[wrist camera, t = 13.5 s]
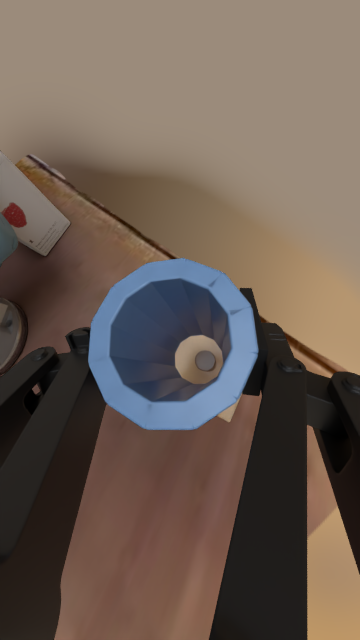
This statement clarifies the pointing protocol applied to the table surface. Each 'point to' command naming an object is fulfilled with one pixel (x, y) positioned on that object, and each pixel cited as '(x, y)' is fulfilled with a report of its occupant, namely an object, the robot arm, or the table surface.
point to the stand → (201, 364)
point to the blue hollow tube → (170, 343)
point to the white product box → (29, 210)
